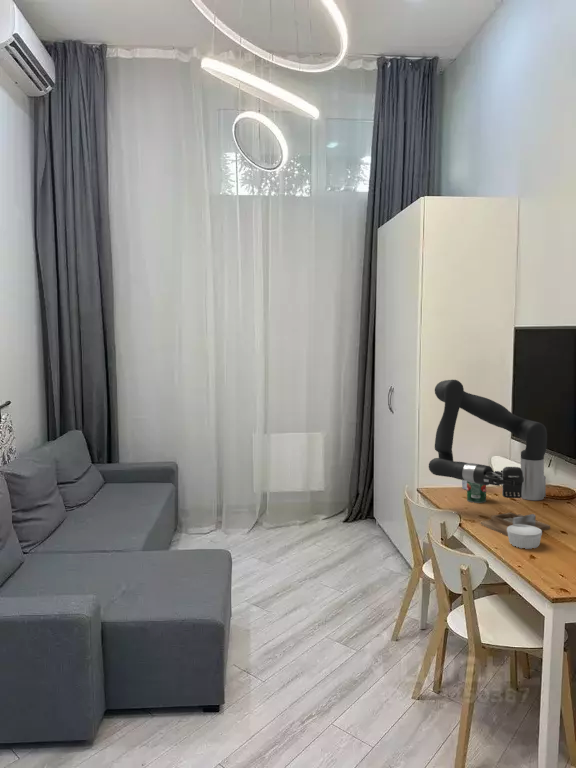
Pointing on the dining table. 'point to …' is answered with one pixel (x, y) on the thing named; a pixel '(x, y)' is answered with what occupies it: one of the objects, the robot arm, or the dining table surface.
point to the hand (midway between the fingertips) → (518, 481)
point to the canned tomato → (476, 492)
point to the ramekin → (524, 536)
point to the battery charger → (517, 476)
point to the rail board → (512, 522)
